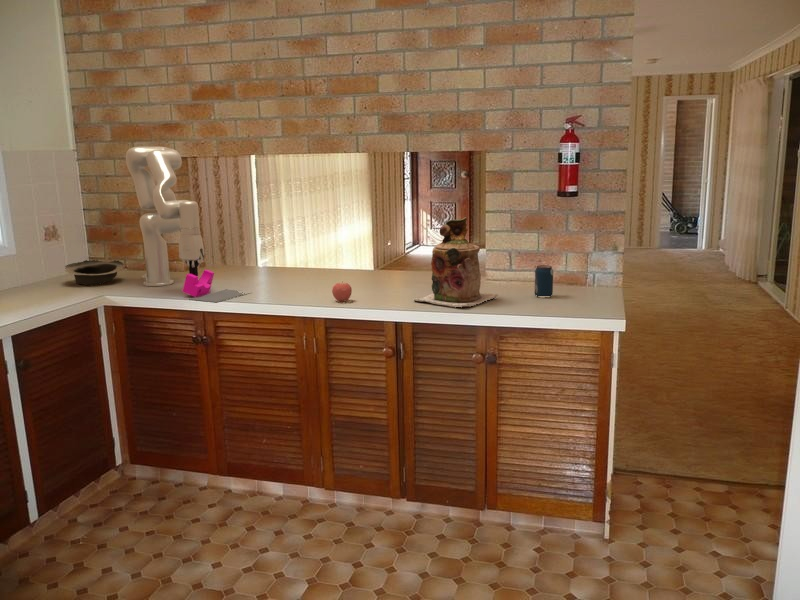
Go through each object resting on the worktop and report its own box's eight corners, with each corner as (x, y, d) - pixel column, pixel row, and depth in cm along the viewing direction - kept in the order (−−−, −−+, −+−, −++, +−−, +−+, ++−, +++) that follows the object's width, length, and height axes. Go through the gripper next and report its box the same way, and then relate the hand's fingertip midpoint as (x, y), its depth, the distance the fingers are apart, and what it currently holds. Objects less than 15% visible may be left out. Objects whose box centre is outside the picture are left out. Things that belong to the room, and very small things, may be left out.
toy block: (195, 297, 280) (200, 279, 278) (182, 291, 281) (186, 274, 279) (215, 291, 294) (219, 274, 292) (202, 286, 295) (206, 269, 293)
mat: (188, 299, 276) (188, 299, 276) (226, 290, 296) (226, 289, 295) (216, 302, 270) (216, 301, 270) (252, 292, 289) (252, 291, 289)
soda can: (555, 296, 274) (556, 266, 271) (546, 299, 269) (546, 268, 266) (540, 294, 278) (541, 264, 276) (530, 296, 274) (531, 266, 271)
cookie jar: (448, 292, 286) (448, 213, 279) (500, 299, 270) (502, 216, 264) (411, 302, 267) (410, 218, 260) (464, 310, 252) (465, 221, 245)
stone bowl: (98, 275, 334) (97, 256, 332) (137, 283, 324) (136, 263, 322) (53, 283, 312) (52, 263, 310) (93, 292, 302) (92, 271, 300)
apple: (354, 299, 273) (353, 279, 271) (348, 303, 266) (348, 282, 264) (336, 299, 274) (335, 279, 273) (330, 302, 267) (329, 282, 266)
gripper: (169, 232, 284) (173, 276, 288) (198, 233, 277) (201, 279, 281) (183, 230, 291) (186, 274, 294) (211, 231, 284) (214, 276, 288)
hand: (193, 276), depth 288 cm, fingers closed
